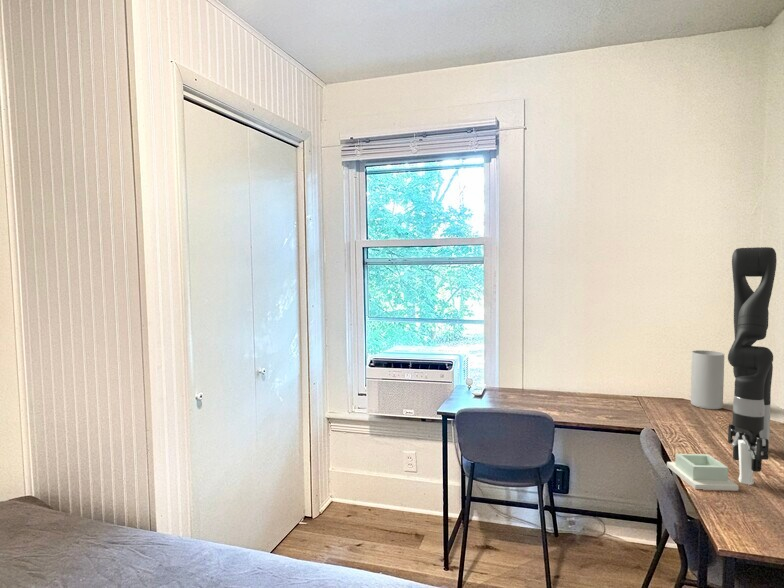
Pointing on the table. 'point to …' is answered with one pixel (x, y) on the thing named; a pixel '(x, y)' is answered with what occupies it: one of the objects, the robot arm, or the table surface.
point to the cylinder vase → (707, 379)
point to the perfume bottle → (745, 463)
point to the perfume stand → (702, 472)
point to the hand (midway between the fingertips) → (746, 465)
